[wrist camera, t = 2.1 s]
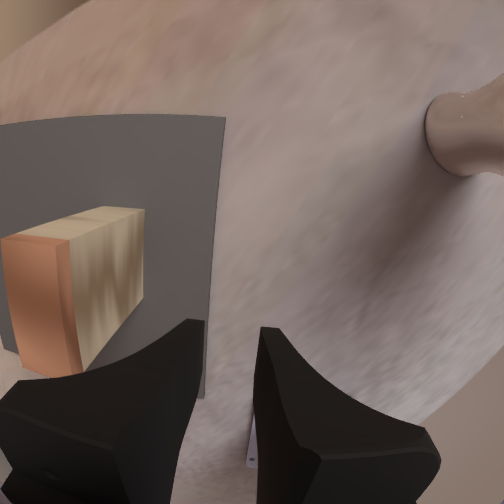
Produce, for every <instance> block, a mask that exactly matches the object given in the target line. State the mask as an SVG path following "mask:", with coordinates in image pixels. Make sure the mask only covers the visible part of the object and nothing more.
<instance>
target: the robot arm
mask: <svg viewBox="0 0 504 504" xmlns="http://www.w3.org/2000/svg"><path fill="white" fill-rule="evenodd" d="M204 330H205V320H197V319H189V318H187V319H185V320H184V321H183V322H181V323H180V324H178V325H177V326H176V327H174V328H173V329H172V330H170V331H169V332H168V333H166V334H165V335H163V336H162V337H161V338H159V339H158V340H156V341H154V342H153V343H151V344H149V345H148V346H146V347H144V348H143V349H141V350H139V351H138V352H136V353H134V354H132V355H130V356H128V357H126V358H123V359H121V360H119V361H116V362H114V363H111V364H108V365H105V366H102V367H99V368H96V369H93V370H90V371H86V372H82V373H78V374H74V375H69V376H63V377H57V378H49V379H36V380H19V381H17V383H16V384H15V385H14V386H13V387H12V388H11V389H10V390H9V391H8V392H7V393H6V394H5V395H4V396H3V397H2V399H1V400H0V448H1V449H2V451H3V453H4V455H5V457H6V458H7V460H8V462H9V463H10V465H11V466H12V468H13V470H12V471H11V473H10V474H9V476H8V478H7V479H6V481H5V482H4V483H2V482H0V504H170V499H171V494H172V488H173V482H174V477H175V471H176V466H177V461H178V456H179V451H180V448H181V444H182V441H183V438H184V435H185V432H186V429H187V426H188V423H189V420H190V417H191V414H192V411H193V408H194V405H195V402H196V399H197V396H198V392H199V387H200V382H201V377H202V371H203V351H204ZM253 406H254V416H253V422H252V428H251V434H250V440H249V446H248V452H247V458H246V467H248V468H256V504H417V503H416V500H417V499H418V498H419V497H420V496H421V494H422V493H423V492H424V491H425V490H426V488H427V487H428V486H429V485H430V483H431V482H432V480H433V479H434V477H435V476H436V474H437V472H438V470H439V469H440V464H441V458H440V454H439V452H438V450H437V448H436V447H435V445H434V443H433V441H432V440H431V438H430V436H429V434H428V432H427V431H426V430H425V428H424V427H421V426H417V425H414V424H411V423H408V422H404V421H401V420H398V419H395V418H392V417H390V416H388V415H385V414H383V413H381V412H378V411H376V410H374V409H372V408H370V407H368V406H366V405H364V404H362V403H360V402H358V401H357V400H355V399H354V398H353V397H350V396H348V395H347V394H345V393H344V392H342V391H341V390H339V389H338V388H336V387H335V386H334V385H332V384H331V383H330V382H329V381H327V380H326V379H325V378H324V377H322V376H321V375H320V374H319V373H318V372H317V371H316V370H315V369H314V368H313V367H312V366H310V365H309V364H308V363H307V362H306V360H305V359H304V358H303V357H302V356H301V355H300V354H299V353H298V352H297V350H296V349H295V348H294V347H293V345H292V344H291V343H290V342H289V340H288V339H287V338H286V336H285V335H284V334H283V332H282V331H281V330H280V329H279V328H271V327H261V329H260V337H259V344H258V351H257V358H256V366H255V373H254V388H253ZM501 504H504V500H503V502H502V503H501Z"/></svg>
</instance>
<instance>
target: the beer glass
mask: <svg viewBox="0 0 504 504" xmlns="http://www.w3.org/2000/svg"><path fill="white" fill-rule="evenodd" d="M425 132H426V138H427V142H428V145H429V148H430V150H431V152H432V154H433V156H434V158H435V159H436V160H437V162H438V163H439V164H440V165H441V166H442V167H443V168H444V169H445V170H447V171H448V172H450V173H452V174H454V175H458V176H471V175H476V174H480V173H495V174H498V175H501V176H504V73H503V74H501V75H500V76H498V77H497V78H495V79H494V80H492V81H491V82H489V83H488V84H486V85H484V86H483V87H481V88H479V89H477V90H474V91H470V92H448V93H444V94H442V95H440V96H438V97H437V98H436V99H435V100H434V101H433V102H432V103H431V105H430V106H429V109H428V111H427V114H426V120H425Z"/></svg>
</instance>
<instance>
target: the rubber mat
mask: <svg viewBox="0 0 504 504" xmlns="http://www.w3.org/2000/svg"><path fill="white" fill-rule="evenodd" d="M225 121H226V118H225V117H215V116H198V115H170V114H122V115H95V116H78V117H65V118H54V119H44V120H35V121H27V122H20V123H13V124H6V125H0V335H1V339H2V343H3V347H4V349H7V350H10V351H12V352H15V353H18V354H19V351H18V347H17V343H16V339H15V334H14V330H13V325H12V320H11V315H10V310H9V304H8V298H7V292H6V285H5V278H4V270H3V261H2V251H1V238H4V237H7V236H10V235H12V234H15V233H18V232H21V231H24V230H27V229H30V228H33V227H36V226H39V225H42V224H45V223H48V222H51V221H55V220H58V219H61V218H64V217H67V216H71V215H74V214H77V213H81V212H84V211H88V210H91V209H95V208H98V207H102V206H110V207H123V208H136V209H145V217H144V245H143V299H142V300H141V301H140V303H139V304H138V305H137V306H136V307H135V309H134V310H133V311H132V312H131V314H130V315H129V316H128V317H127V318H126V320H125V321H124V322H123V323H122V325H121V326H120V327H119V328H118V330H117V331H116V332H115V333H114V334H113V336H112V337H111V338H110V340H109V341H108V342H107V343H106V345H105V346H104V347H103V348H102V350H101V351H100V352H99V353H98V355H97V356H96V357H95V359H94V360H93V361H92V362H91V364H90V365H89V366H88V368H87V369H86V370H85V371H84V372H86V371H90V370H93V369H96V368H99V367H102V366H105V365H108V364H111V363H114V362H116V361H119V360H121V359H123V358H126V357H128V356H130V355H132V354H134V353H136V352H138V351H139V350H141V349H143V348H144V347H146V346H148V345H149V344H151V343H153V342H154V341H156V340H158V339H159V338H161V337H162V336H163V335H165V334H166V333H168V332H169V331H170V330H172V329H173V328H174V327H176V326H177V325H178V324H180V323H181V322H183V321H184V320H185V319H187V318H189V319H197V320H205V330H204V351H203V371H202V377H201V382H200V387H199V392H198V396H197V398H203V399H204V396H205V372H206V351H207V332H208V315H209V299H210V284H211V270H212V256H213V244H214V232H215V220H216V209H217V198H218V187H219V177H220V167H221V157H222V148H223V139H224V130H225Z"/></svg>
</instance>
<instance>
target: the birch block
mask: <svg viewBox="0 0 504 504" xmlns="http://www.w3.org/2000/svg"><path fill="white" fill-rule="evenodd" d="M144 217H145V209H136V208H123V207H110V206H102V207H98V208H95V209H91V210H88V211H84V212H81V213H77V214H74V215H71V216H67V217H64V218H61V219H58V220H55V221H51V222H48V223H45V224H42V225H39V226H36V227H33V228H30V229H27V230H24V231H21V232H18V233H15V234H12V235H10V236H7V237H4V238H1V251H2V261H3V270H4V278H5V285H6V292H7V298H8V304H9V310H10V315H11V320H12V325H13V330H14V334H15V339H16V343H17V347H18V351H19V355H20V359H21V362H22V366H23V368H26V369H29V370H31V371H34V372H37V373H40V374H43V375H46V376H48V377H51V378H57V377H63V376H69V375H74V374H78V373H82V372H84V371H85V370H86V369H87V368H88V366H89V365H90V364H91V362H92V361H93V360H94V359H95V357H96V356H97V355H98V353H99V352H100V351H101V350H102V348H103V347H104V346H105V345H106V343H107V342H108V341H109V340H110V338H111V337H112V336H113V334H114V333H115V332H116V331H117V330H118V328H119V327H120V326H121V325H122V323H123V322H124V321H125V320H126V318H127V317H128V316H129V315H130V314H131V312H132V311H133V310H134V309H135V307H136V306H137V305H138V304H139V303H140V301H141V300H142V299H143V245H144Z"/></svg>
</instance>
